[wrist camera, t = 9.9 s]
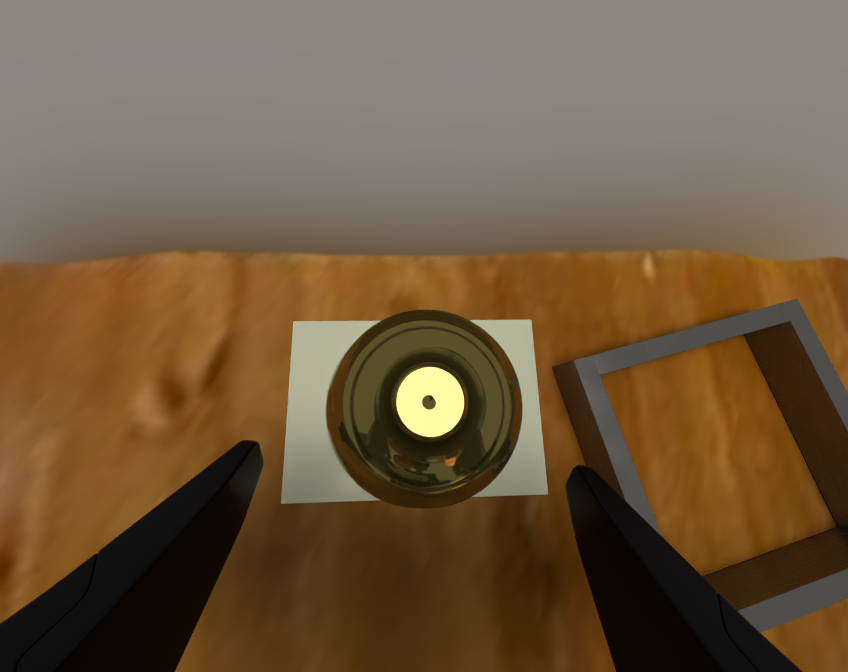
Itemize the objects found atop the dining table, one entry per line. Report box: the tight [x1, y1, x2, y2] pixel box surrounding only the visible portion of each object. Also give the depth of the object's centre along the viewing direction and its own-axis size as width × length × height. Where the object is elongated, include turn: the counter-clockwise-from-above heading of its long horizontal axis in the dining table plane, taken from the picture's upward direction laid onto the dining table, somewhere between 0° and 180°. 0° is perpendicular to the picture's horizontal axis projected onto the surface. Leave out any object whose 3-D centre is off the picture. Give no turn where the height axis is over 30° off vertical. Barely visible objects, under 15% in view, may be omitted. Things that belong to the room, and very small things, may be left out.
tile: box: [281, 320, 548, 504], centre depth 18 cm, size 13×9×1 cm
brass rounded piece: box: [325, 310, 522, 508], centre depth 12 cm, size 7×7×10 cm
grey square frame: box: [552, 299, 848, 633], centre depth 17 cm, size 13×13×2 cm
